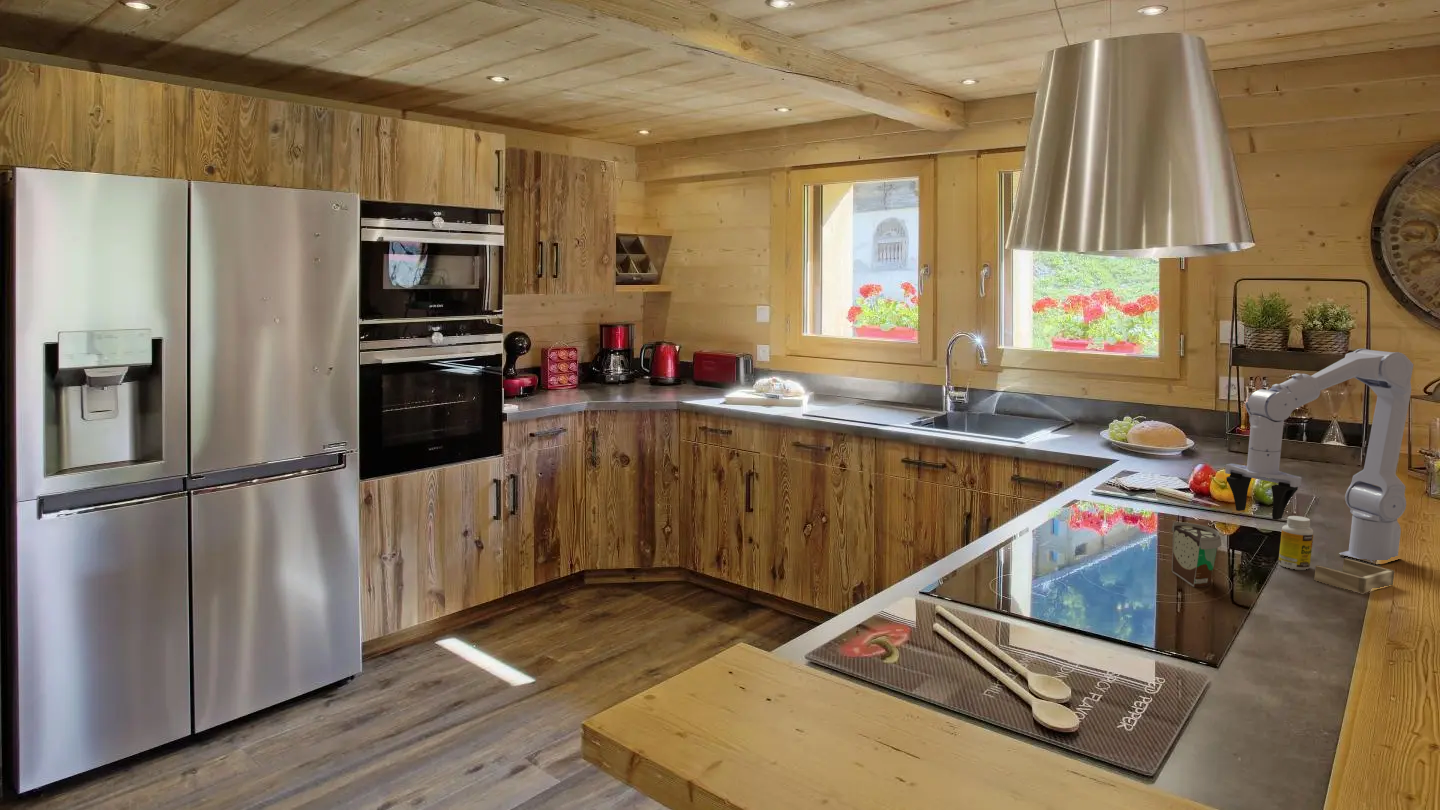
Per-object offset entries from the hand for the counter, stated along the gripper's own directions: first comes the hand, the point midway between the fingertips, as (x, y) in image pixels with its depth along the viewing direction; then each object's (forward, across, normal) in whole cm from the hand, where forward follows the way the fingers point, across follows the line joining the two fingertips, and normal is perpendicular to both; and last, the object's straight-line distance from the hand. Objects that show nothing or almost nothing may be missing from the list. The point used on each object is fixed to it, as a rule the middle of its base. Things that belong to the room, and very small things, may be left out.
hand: (1258, 514), depth 194 cm
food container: (+11, +1, -20) cm, 22 cm away
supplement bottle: (+11, +5, +5) cm, 13 cm away
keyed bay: (+10, +16, +5) cm, 20 cm away
